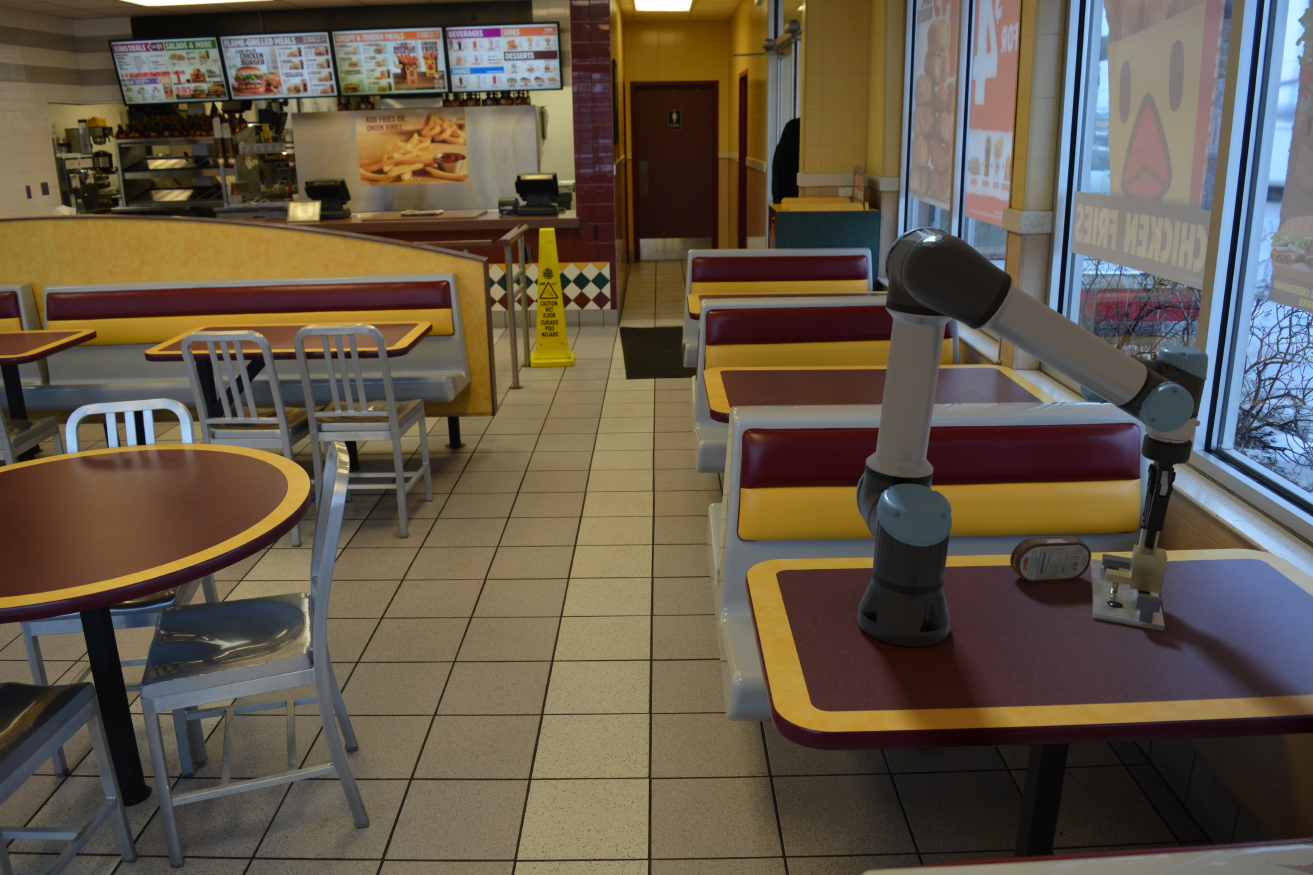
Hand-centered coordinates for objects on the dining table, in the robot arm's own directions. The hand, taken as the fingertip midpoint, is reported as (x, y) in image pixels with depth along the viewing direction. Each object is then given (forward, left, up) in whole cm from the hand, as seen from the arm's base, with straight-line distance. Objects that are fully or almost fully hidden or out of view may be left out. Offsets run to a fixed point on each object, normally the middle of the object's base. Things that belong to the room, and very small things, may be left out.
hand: (1144, 560), depth 172 cm
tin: (-15, 0, -7) cm, 17 cm away
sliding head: (-2, -4, -6) cm, 7 cm away
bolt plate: (-2, -1, -7) cm, 7 cm away
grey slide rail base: (-2, -1, -6) cm, 6 cm away
